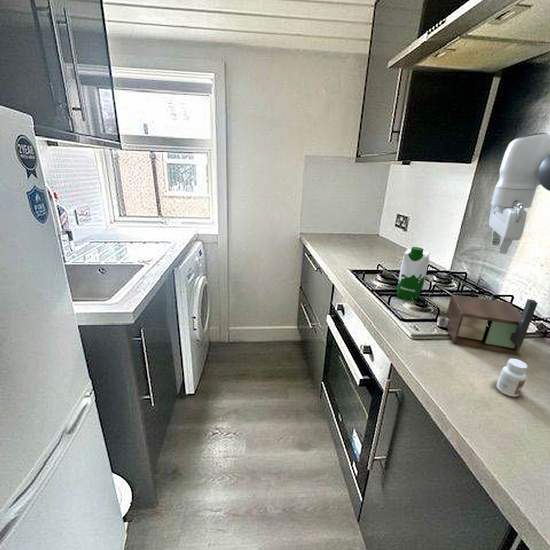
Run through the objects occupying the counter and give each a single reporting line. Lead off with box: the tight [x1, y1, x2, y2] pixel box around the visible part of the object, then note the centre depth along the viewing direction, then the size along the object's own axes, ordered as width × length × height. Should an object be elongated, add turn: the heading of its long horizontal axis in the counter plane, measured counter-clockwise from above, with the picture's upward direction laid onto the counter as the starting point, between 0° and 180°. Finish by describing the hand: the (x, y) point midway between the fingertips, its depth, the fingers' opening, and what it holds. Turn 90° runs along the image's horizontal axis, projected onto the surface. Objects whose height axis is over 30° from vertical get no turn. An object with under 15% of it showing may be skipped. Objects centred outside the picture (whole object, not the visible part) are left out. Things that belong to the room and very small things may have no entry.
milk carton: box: [396, 246, 430, 303], centre depth 115 cm, size 9×9×20 cm
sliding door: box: [485, 298, 538, 348], centre depth 81 cm, size 7×4×16 cm, turn 72°
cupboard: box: [445, 293, 522, 356], centre depth 90 cm, size 16×14×10 cm
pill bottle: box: [496, 358, 528, 397], centre depth 69 cm, size 4×4×8 cm
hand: (498, 248), depth 87 cm, fingers open, 8 cm apart
